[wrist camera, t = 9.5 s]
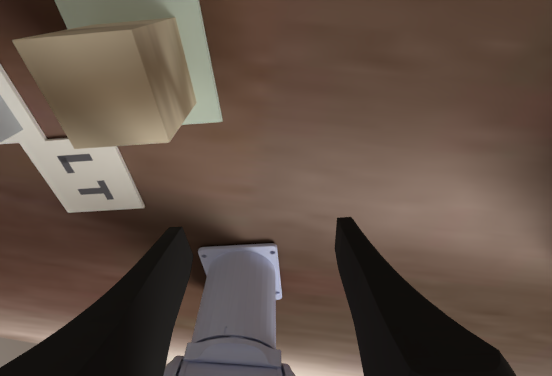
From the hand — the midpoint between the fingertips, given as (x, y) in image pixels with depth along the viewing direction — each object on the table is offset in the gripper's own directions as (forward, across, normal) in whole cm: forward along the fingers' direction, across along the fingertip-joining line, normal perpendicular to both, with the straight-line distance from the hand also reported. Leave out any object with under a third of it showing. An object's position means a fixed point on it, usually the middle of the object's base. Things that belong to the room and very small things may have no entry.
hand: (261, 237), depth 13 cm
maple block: (+10, +7, -6) cm, 13 cm away
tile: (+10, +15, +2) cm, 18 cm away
